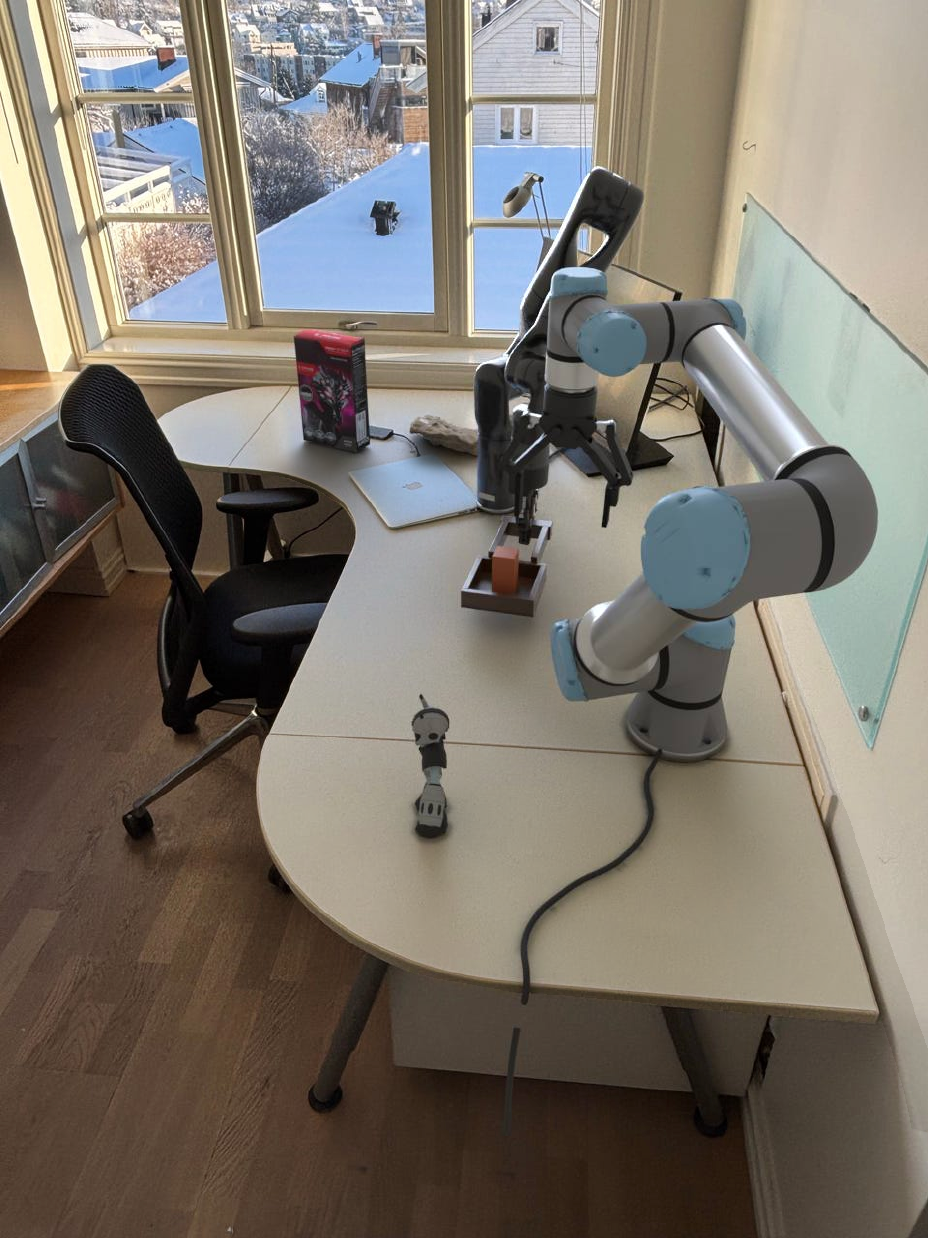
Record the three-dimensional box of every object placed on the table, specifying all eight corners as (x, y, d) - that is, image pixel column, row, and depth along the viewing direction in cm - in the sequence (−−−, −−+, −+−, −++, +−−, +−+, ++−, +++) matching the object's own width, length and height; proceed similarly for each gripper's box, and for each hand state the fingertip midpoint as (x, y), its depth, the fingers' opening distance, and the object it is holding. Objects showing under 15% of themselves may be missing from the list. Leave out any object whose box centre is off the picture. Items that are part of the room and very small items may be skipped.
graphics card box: (301, 441, 235) (290, 334, 220) (317, 432, 240) (307, 326, 225) (357, 454, 229) (350, 345, 213) (372, 444, 234) (367, 337, 218)
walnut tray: (533, 617, 161) (534, 595, 158) (461, 607, 163) (460, 585, 161) (559, 542, 183) (560, 522, 180) (495, 534, 186) (495, 514, 183)
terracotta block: (513, 597, 165) (514, 559, 160) (491, 594, 166) (492, 556, 161) (517, 586, 168) (519, 548, 164) (496, 583, 169) (497, 545, 164)
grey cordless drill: (452, 871, 119) (452, 756, 108) (414, 872, 119) (410, 757, 108) (447, 767, 136) (446, 657, 124) (413, 768, 135) (410, 658, 124)
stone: (393, 439, 229) (398, 415, 226) (412, 430, 242) (417, 408, 240) (473, 463, 225) (479, 439, 223) (488, 453, 238) (493, 431, 236)
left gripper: (542, 477, 167) (537, 559, 177) (555, 447, 178) (550, 526, 188) (501, 472, 169) (499, 554, 178) (517, 443, 180) (514, 522, 190)
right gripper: (662, 384, 131) (645, 517, 143) (492, 367, 136) (488, 497, 148) (657, 402, 125) (639, 540, 137) (479, 384, 130) (476, 518, 142)
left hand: (525, 539), depth 183 cm, fingers closed on walnut tray, 2 cm apart
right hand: (561, 518), depth 142 cm, fingers open, 13 cm apart
